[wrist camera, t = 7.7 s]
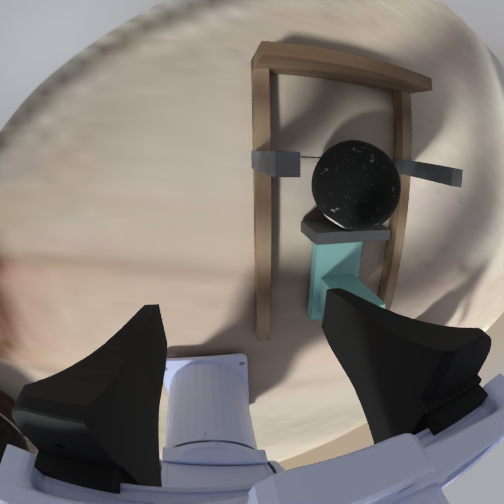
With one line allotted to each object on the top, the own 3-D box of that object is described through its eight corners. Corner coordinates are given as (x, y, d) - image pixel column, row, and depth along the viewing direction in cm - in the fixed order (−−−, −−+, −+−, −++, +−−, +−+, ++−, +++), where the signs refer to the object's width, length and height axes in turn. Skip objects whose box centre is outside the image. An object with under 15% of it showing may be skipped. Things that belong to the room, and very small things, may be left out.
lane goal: (382, 312, 26) (420, 353, 19) (254, 333, 24) (271, 391, 17) (401, 84, 18) (459, 74, 11) (249, 60, 16) (271, 20, 10)
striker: (356, 306, 24) (389, 344, 19) (296, 316, 24) (320, 361, 18) (368, 218, 21) (413, 241, 16) (301, 220, 21) (335, 248, 15)
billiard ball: (381, 168, 20) (430, 181, 15) (345, 229, 22) (385, 258, 16) (326, 125, 18) (369, 121, 13) (285, 192, 20) (316, 212, 14)
